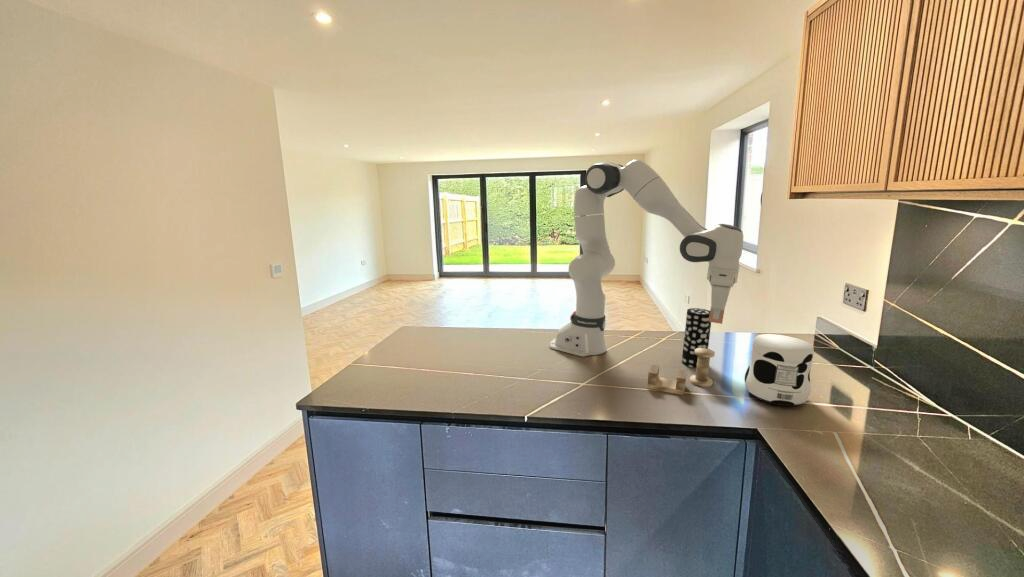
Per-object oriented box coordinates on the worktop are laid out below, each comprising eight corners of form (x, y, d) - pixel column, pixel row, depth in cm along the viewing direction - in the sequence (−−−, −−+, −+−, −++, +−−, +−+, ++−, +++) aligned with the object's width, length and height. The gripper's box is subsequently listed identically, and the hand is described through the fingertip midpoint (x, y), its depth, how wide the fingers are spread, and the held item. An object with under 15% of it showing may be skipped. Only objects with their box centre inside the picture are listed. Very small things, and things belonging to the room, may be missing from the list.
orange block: (708, 321, 140) (710, 307, 139) (709, 318, 144) (711, 304, 142) (722, 323, 138) (724, 309, 137) (722, 320, 142) (724, 306, 141)
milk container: (769, 381, 143) (777, 330, 139) (821, 405, 128) (832, 348, 124) (730, 389, 137) (737, 336, 133) (780, 415, 122) (790, 356, 117)
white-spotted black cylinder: (702, 370, 152) (709, 316, 147) (678, 364, 157) (684, 311, 152) (708, 362, 158) (714, 310, 154) (685, 357, 163) (690, 307, 158)
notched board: (647, 388, 137) (648, 372, 136) (650, 379, 144) (651, 364, 142) (683, 395, 133) (685, 378, 132) (685, 386, 139) (686, 370, 138)
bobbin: (688, 384, 140) (692, 353, 138) (690, 376, 147) (693, 346, 144) (712, 388, 138) (716, 356, 135) (712, 380, 144) (716, 349, 141)
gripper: (712, 268, 148) (706, 307, 151) (710, 280, 130) (704, 323, 133) (732, 271, 145) (726, 309, 148) (733, 282, 127) (726, 326, 131)
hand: (715, 316), depth 141 cm, fingers closed on orange block, 4 cm apart
